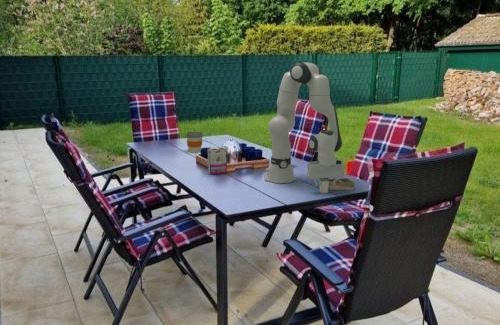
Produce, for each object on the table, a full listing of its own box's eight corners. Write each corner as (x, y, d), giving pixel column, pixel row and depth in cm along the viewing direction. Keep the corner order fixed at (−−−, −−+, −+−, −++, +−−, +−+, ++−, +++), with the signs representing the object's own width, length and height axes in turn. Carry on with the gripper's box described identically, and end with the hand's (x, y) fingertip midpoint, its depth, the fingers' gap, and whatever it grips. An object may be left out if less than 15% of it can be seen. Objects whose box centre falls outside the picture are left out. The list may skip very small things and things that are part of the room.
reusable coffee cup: (186, 150, 346) (186, 131, 343) (202, 150, 347) (202, 131, 344) (186, 153, 334) (185, 134, 330) (202, 153, 335) (202, 134, 332)
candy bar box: (224, 171, 280) (224, 146, 276) (226, 173, 275) (226, 148, 271) (207, 173, 275) (207, 147, 272) (209, 175, 271) (209, 149, 267)
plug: (319, 191, 239) (320, 177, 237) (325, 190, 239) (326, 176, 238) (321, 193, 235) (322, 178, 234) (328, 192, 236) (328, 178, 234)
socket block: (324, 185, 249) (325, 178, 248) (347, 184, 252) (348, 177, 251) (330, 190, 241) (331, 182, 240) (354, 189, 243) (354, 181, 243)
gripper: (309, 162, 229) (308, 188, 232) (346, 161, 233) (344, 186, 236) (305, 160, 235) (304, 185, 238) (341, 158, 239) (339, 183, 242)
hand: (325, 185), depth 237 cm, fingers open, 8 cm apart
